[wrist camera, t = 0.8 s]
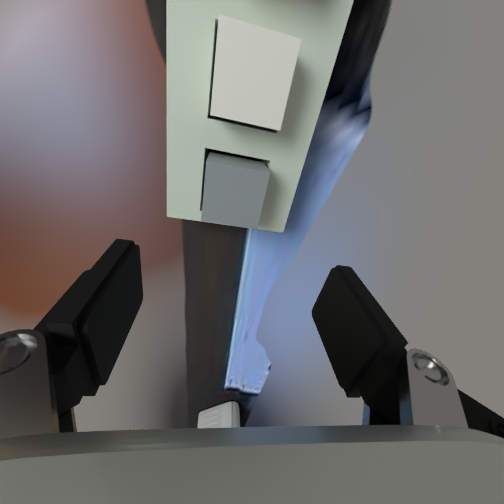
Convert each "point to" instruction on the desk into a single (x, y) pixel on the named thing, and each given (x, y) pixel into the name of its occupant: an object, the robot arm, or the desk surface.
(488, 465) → the robot arm
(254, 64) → the white key
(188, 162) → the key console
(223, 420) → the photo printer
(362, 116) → the desk surface
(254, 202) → the slate key
